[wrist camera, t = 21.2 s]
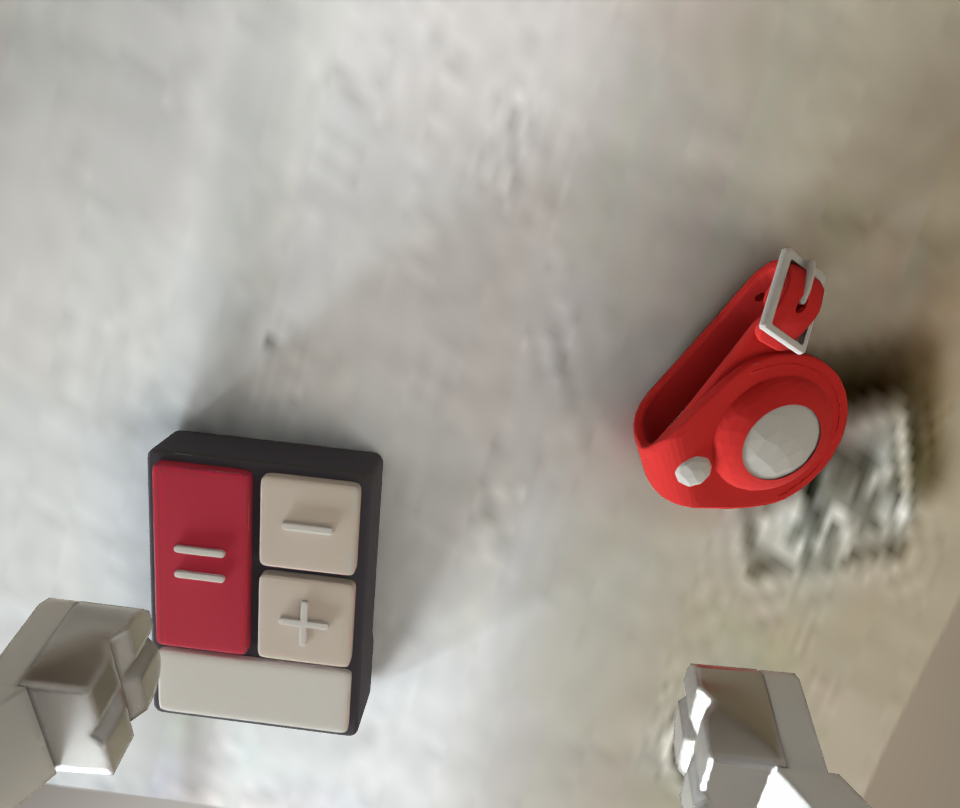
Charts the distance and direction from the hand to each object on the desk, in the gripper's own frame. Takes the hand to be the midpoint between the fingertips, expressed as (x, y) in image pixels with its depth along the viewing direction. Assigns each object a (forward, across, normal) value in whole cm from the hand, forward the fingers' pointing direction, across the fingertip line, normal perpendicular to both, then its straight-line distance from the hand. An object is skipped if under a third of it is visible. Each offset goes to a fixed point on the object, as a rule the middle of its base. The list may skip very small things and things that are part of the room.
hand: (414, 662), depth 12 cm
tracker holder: (+27, -12, +9) cm, 31 cm away
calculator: (+24, +11, +22) cm, 34 cm away
